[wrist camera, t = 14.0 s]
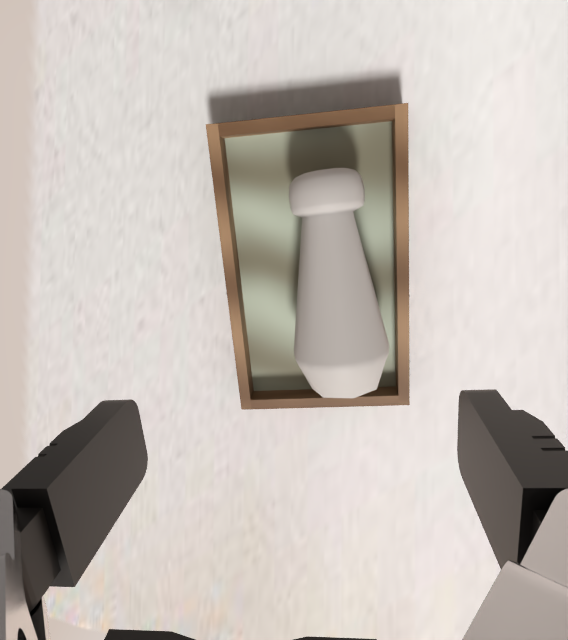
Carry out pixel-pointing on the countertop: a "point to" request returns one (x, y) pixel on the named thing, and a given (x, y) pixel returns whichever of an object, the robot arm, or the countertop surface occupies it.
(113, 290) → the countertop surface
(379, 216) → the tray
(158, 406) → the countertop surface
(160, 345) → the countertop surface
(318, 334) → the salt shaker
